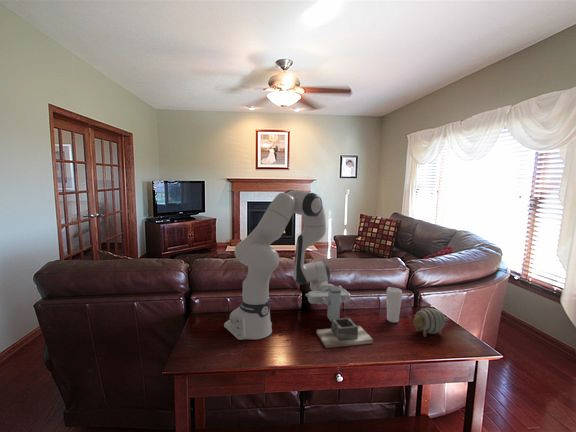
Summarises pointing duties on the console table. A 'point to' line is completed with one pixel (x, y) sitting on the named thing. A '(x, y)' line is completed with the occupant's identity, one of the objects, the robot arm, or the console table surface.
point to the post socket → (343, 334)
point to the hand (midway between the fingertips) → (334, 303)
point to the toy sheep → (429, 321)
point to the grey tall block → (334, 303)
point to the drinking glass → (393, 304)
